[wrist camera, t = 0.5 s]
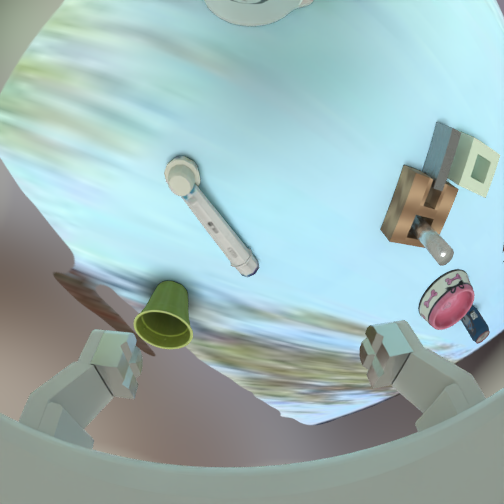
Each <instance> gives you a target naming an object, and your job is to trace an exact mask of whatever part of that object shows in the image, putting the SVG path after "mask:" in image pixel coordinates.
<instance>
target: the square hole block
mask: <svg viewBox="0 0 504 504" xmlns="http://www.w3.org/2000/svg"><path fill="white" fill-rule="evenodd" d="M457 131H458V130H457ZM459 132H460V131H459ZM499 157H500V155H499V154H498V153H496V152H495V151H494V150H492V149H491V148H489V147H488V146H487V145H485V144H484V143H482V142H481V141H479V140H478V139H476V138H474V137H472V136H470V135H468V134H465V133H463V132H461V136H460V139H459V143H458V146H457V150H456V153H455V156H454V159H453V162H452V165H451V168H450V171H449V174H448V177H447V178H449V179H450V180H452V181H453V182H454V183H456V184H457V185H459V186H461V187H463V188H466V189H468V190H470V191H472V192H474V193H477V194H479V195H481V196H483V197H485V198H486V195H487V193H488V190H489V187H490V185H491V182H492V179H493V176H494V173H495V170H496V167H497V164H498V161H499Z"/></svg>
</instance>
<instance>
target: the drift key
mask: <svg viewBox="0 0 504 504" xmlns="http://www.w3.org/2000/svg"><path fill="white" fill-rule="evenodd" d="M460 136H461V132H459V131H457V130H455V129H454V128H452V127H449V126H446V125H443V124H441V123H438V122H436V126H435V130H434V134H433V137H432V141H431V144H430V148H429V151H428V154H427V157H426V161H425V164H424V167H423V170H422V172H423V173H425V174H426V175H428V176H429V177H431V178H432V179H433V182H432V185H431V187H432V188H434V189H437V190H440V191H443V188H444V186H445V183H446V180H447V177H448V174H449V171H450V168H451V165H452V162H453V159H454V156H455V153H456V150H457V146H458V143H459V139H460Z"/></svg>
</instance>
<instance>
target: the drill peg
mask: <svg viewBox="0 0 504 504" xmlns="http://www.w3.org/2000/svg"><path fill="white" fill-rule="evenodd" d="M410 230H411V231H412V233H413V234H414V235H415V236H416V237H417V238H418V240H419V241H420V242H421V243H422V244H423V245H424V247H425V248H426V249H427V250H428V251H429V253H430V254H431V255H432V256H433V257H434V259H435V260H436V261H437V262H438V264H439V265H446V264H447V263H448V262H450V260H451V259H452V257H453V254H454V252H453V249H452V248H451V247H450V246H449V245H448V244H447V243H446V242H445V240H444V239H443V238H442V237H441V236H440V235H439V234H438V233H437V232H436V231H435V230H434V229H433V228H432V227H431V226H430V225H429V224H428V223H427V222H426V221H425V220H424V219H423V218H422V217H421V216H420V215H416V216H415V218H414V221H413V223H412V226H411V228H410Z"/></svg>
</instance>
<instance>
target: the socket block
mask: <svg viewBox="0 0 504 504" xmlns="http://www.w3.org/2000/svg"><path fill="white" fill-rule="evenodd" d="M432 182H433V179H432V178H431V177H429V176H428V175H426V174H425V173H423V172H422V171H420V170H417V169H414V168H412V167H409V166H406V165H404V166H403V169H402V172H401V175H400V178H399V181H398V184H397V187H396V189H395V192H394V195H393V198H392V201H391V203H390V206H389V209H388V211H387V214H386V216H385V219H384V222H383V224H382V227H381V229H380V230H381V231H382V232H383V234H384V235H385V236H386V237H387V239H388V240H389V241H390V242H395V243H401V244H407V245H412V246H418V247H423V248H425V247H424V245H423V244H422V243H421V242H420V241H419V240H418V238H417V237H416V236H415V235H414V234H413V233H412V231H411V230H410V228H411V226H412V223H413V221H414V218H415V216H416V215H420V216H421V217H422V218H423V219H424V220H425V221H426V222H427V223H428V224H429V225H430V226H431V227H432V228H433V229H434V230H435V231H436V232H437V233H438V234H440V232H441V230H442V228H443V226H444V223H445V221H446V219H447V217H448V214H449V212H450V210H451V207H452V205H453V202H454V200H455V197H456V195H457V192H458V189H457V188H456V187H454V186H453V185H452V184H450V183H449V182H447V181H446V183H445V186H444V188H443V191H440V190H437V189H434V188H432V187H431V185H432Z"/></svg>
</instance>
